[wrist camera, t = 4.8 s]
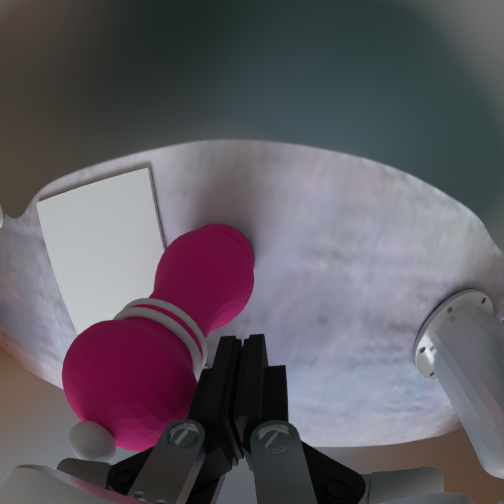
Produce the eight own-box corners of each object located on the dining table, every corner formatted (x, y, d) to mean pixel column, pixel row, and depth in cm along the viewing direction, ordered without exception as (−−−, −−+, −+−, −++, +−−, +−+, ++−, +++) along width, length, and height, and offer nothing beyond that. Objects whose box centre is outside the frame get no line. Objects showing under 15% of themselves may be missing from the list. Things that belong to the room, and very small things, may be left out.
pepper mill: (206, 201, 23) (-9, 337, 4) (277, 250, 23) (223, 501, 5) (169, 264, 25) (15, 421, 7) (231, 308, 26) (147, 511, 7)
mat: (150, 167, 22) (147, 167, 22) (190, 341, 28) (189, 343, 27) (39, 202, 24) (36, 203, 24) (82, 336, 30) (80, 339, 29)
